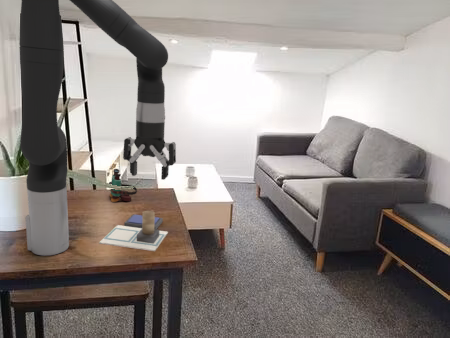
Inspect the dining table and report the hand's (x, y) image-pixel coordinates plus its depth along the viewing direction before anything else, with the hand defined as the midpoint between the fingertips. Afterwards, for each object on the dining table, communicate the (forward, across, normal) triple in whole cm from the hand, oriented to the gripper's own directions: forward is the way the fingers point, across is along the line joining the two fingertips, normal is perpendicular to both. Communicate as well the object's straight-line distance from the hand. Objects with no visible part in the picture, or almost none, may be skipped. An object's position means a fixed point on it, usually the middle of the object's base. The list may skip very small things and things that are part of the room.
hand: (149, 177), depth 109 cm
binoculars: (+19, -20, +28) cm, 39 cm away
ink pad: (+19, -5, +9) cm, 21 cm away
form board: (+19, -4, -1) cm, 19 cm away
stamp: (+18, 0, -1) cm, 18 cm away
